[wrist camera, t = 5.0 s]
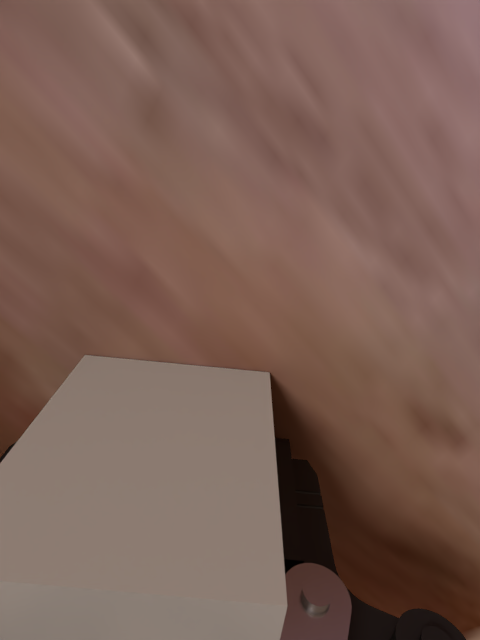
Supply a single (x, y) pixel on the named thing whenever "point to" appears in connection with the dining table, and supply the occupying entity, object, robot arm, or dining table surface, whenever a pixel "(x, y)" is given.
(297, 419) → the dining table surface
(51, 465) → the cube
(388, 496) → the dining table surface
